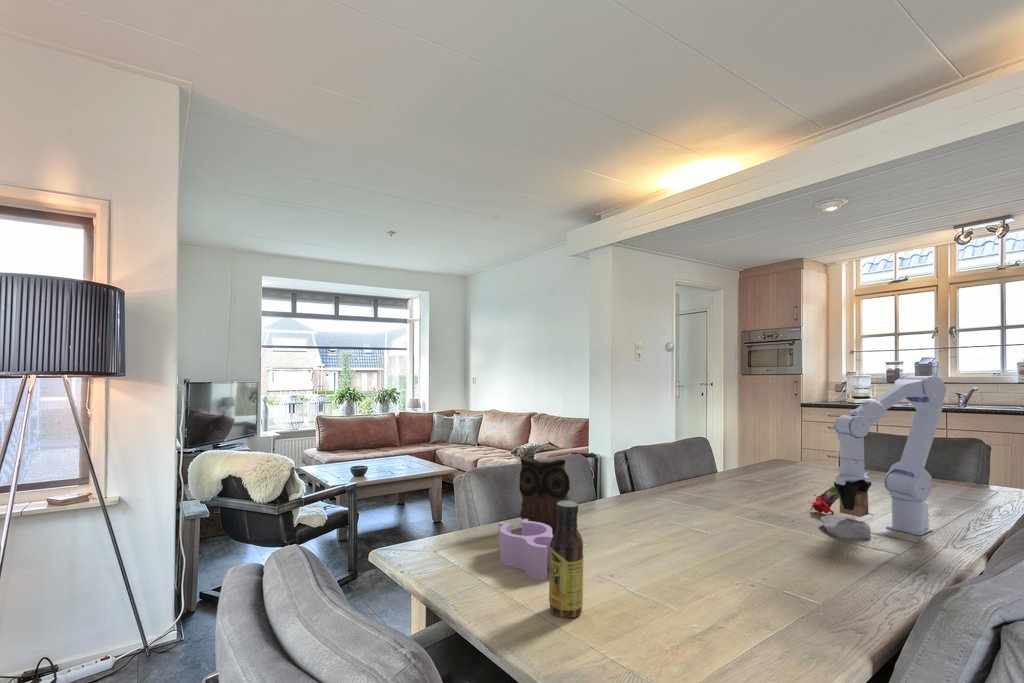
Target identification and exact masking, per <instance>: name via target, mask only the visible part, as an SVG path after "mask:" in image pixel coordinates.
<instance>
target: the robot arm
mask: <svg viewBox="0 0 1024 683" xmlns="http://www.w3.org/2000/svg"><path fill="white" fill-rule="evenodd" d="M893 382H894V384H893V385H892V386H891V387H889V389H887V390H886V391H885V392H884V393H883V394H882V395H880V396H879V397H878V398H876V399H875V400H873V399H868V400H863V401H862V402H861V405H858V406H857V407H856V408H855V409H854V410H852V409H851V410H850V411H849V413H848V414H847V415H846V414H843V415H840V416H839V417H838V418H836V420H835V422H834V424H833V425H832V426H833V429H834V431H835V433H836V435H837V439H838V441H839V442H838V443H839V447H838V448H839V468H840V469H839V473H838V475H837V476H835V481H834V482H833V486H835V487H836V489H837V490H838V492H839V495H840V497H841V500H842V504H843V507H844V509H848V510H853V509H854V503H855V495H856V492H857V491H862V492H867V493H868V491H869V490H870V488H871V486H872V481H870V479H871V477H870V475H869V472H867V471H866V468H865V440H864V437H866V436H868V434H869V432H870V429H871V427H872V426H873V425H875V424H876V423H877V422H879V421H880V420H882V419H883V418H884V417H885V416H886V410H888V409H890V408H891V407H893V406H895V405H896V404H898V403H899V402H901V401H903V400H904V399H905V400H906V402H908V403H909V405H910V406H911V407H914V409H915V414H914V417H913V420H912V423H911V427H910V430H909V433H908V435H907V436H908V437H907V438H906V442H905V446H904V448H903V451H902V455H901V457H900V461H897V462H896V463H893V464H891V466H890V468H889V470H888V471H887V473H886V474H885V475H884V477H883V487H884V488H885V489H886V491H888V494H889V496H891V497H890V498H891V501H890V502H891V503H890V504H891V522H892V523H891V524H887V525H886V526H885V528H886V529H890V530H894V531H899V532H903V533H907V534H912V535H915V536H922V535H924V534H926V533H929V532H931V531H933V530H934V528H932V527H930V525H929V521H930V519H929V507H928V506H929V505H928V504H927V502H926V501H927V499H928V497H930V495H931V492H932V486H931V483H932V478H933V476H932V475H931V474H930V472H928V470H926V468H925V466H926V464H927V460H928V457H929V454H930V451H931V447H932V445H933V441H934V437H935V435H936V432H937V428H938V425H939V421H940V418H941V415H942V411H943V403H944V400H945V398H946V393H947V392H948V391H947V390H948V388H947V387H946V384H945V383H944V381H943V380H942V378H940V377H939V376H936V375H927V376H926V375H925V376H924V375H907V374H906V375H902V376H900V377H899V378H898V379H896V380H894V381H893ZM867 480H869V481H867Z"/></svg>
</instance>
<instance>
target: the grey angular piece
mask: <svg viewBox="0 0 1024 683" xmlns="http://www.w3.org/2000/svg"><path fill="white" fill-rule="evenodd" d="M819 520H820V522H821V524H822V525H823V527H824V528H825V530H826V531H827V533H828V534H829V535H832V536H834V537H837V538H840V539H841V538H842V539H856V540H857V539H858V540H859V539H860V540H871V538H872V532H871V527H870V525H869V523H867V522H865V521H863V520H861V521H860V520H858V519H857V518H856V516H852V515H851V516H849V515H848V516H847V515H840V514H834V515H831V514H828V515H823V516H821V517H820V519H819Z"/></svg>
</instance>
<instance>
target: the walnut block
mask: <svg viewBox="0 0 1024 683" xmlns="http://www.w3.org/2000/svg"><path fill="white" fill-rule="evenodd" d="M838 500H839V513H840V514H845V515H848V516H851V517H852V516H854V517H857V518H862V517H865V516H868V515H869V493H868V491H867V492H862V491H857V492H856V495H855V503H854V509H853V510H848V509H844V507H843V504H842V500H841V497H840V495H839V498H838Z"/></svg>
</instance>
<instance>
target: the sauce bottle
mask: <svg viewBox="0 0 1024 683" xmlns="http://www.w3.org/2000/svg"><path fill="white" fill-rule="evenodd" d="M556 511H557V526H556V529H555V532H554V535H553V538H552V540H551V543H550V565H549V567H548V569H549V573H548V574H549V576H548V577H549V580H548V581H549V583H548V584H549V588H548V591H549V593H548V595H549V596H548V601H549V610H550V611H551V612H552V614H553V615H555V616H556V617H558V618H565V619H569V618H570V619H571V618H576V617H579V616H581V614H582V612H583V605H584V559H585V558H584V540H583V537H582V535H581V533H580V532H579V530H578V526H579V525H578V512H579V504H578V502H575V501H573V500H570V501H559V502H558V503H557V504H556Z"/></svg>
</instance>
